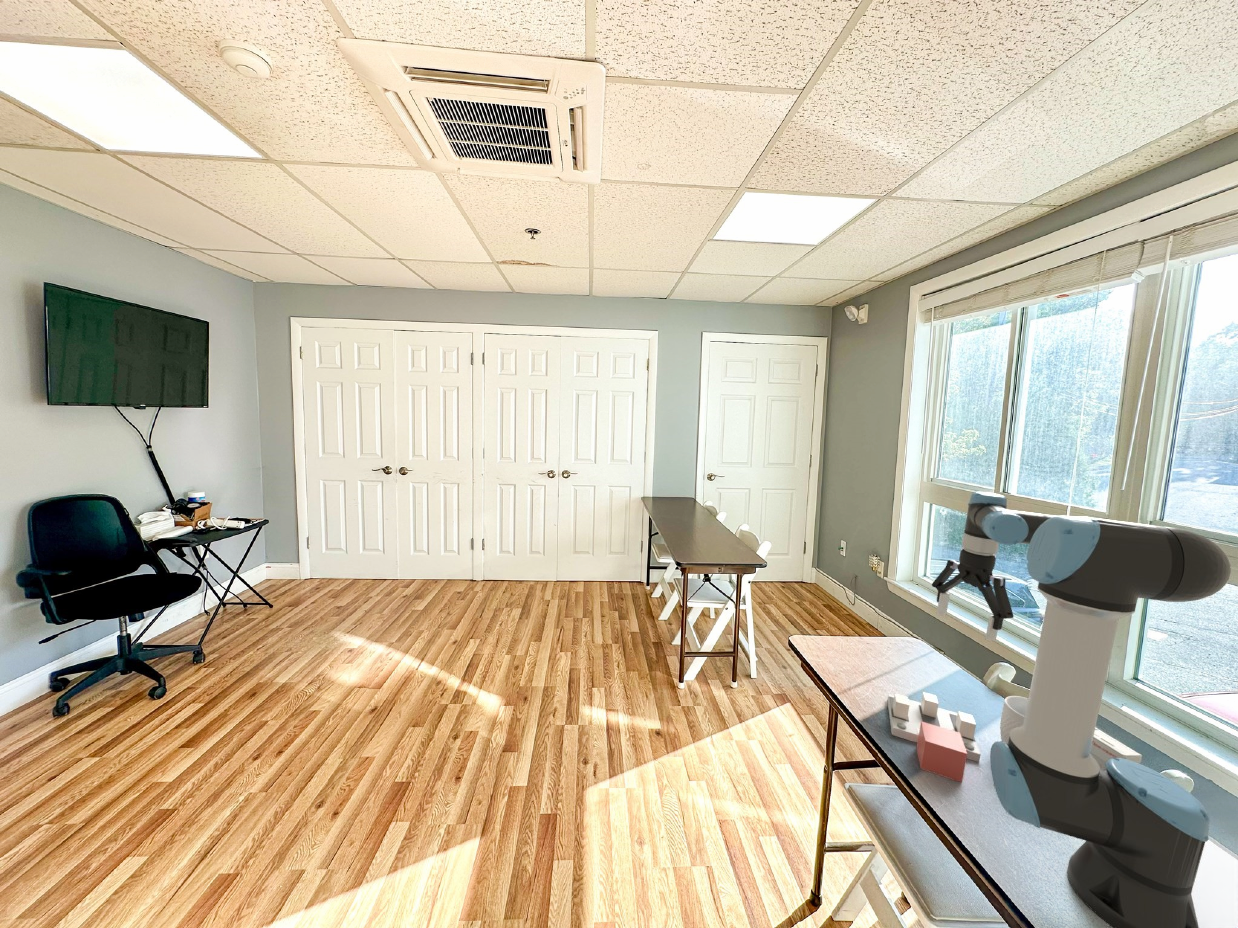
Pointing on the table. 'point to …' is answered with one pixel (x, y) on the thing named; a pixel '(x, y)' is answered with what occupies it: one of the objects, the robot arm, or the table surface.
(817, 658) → the table surface
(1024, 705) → the mug
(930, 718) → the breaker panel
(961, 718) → the toggle
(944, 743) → the cap
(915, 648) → the table surface
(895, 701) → the toggle
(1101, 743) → the ink box
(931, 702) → the toggle
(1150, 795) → the robot arm
